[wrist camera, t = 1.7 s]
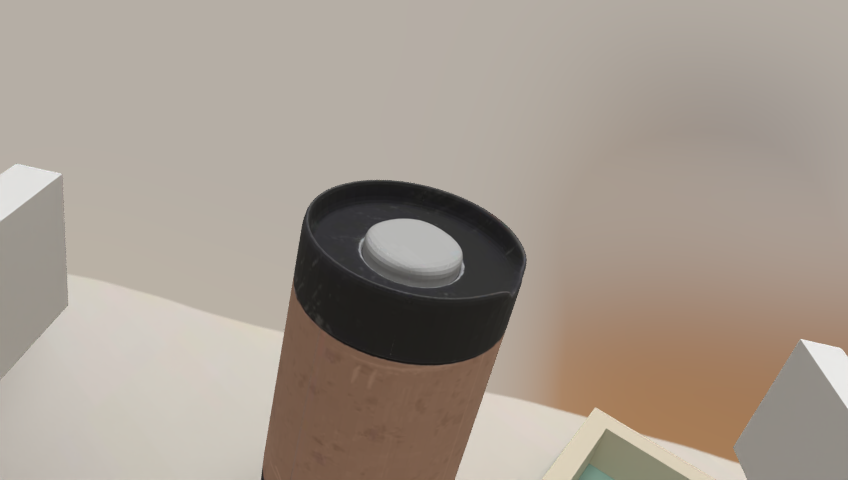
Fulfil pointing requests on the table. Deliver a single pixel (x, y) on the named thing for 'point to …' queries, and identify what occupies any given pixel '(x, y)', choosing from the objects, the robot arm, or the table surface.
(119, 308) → the table surface
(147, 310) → the table surface
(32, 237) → the robot arm
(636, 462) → the rectangular tray
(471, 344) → the travel mug
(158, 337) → the table surface
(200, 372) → the table surface
